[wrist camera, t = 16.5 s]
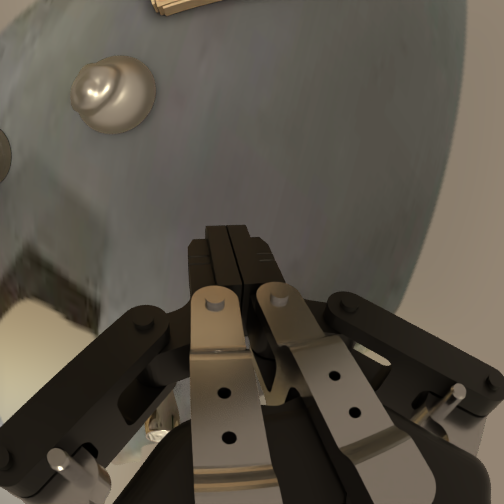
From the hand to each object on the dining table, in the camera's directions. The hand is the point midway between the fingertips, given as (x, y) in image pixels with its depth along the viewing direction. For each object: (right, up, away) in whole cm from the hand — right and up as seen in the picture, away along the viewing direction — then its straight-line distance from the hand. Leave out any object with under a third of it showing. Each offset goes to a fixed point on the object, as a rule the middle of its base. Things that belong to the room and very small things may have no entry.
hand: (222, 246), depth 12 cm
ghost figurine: (-14, +19, +19) cm, 31 cm away
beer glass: (-18, -26, +49) cm, 58 cm away
